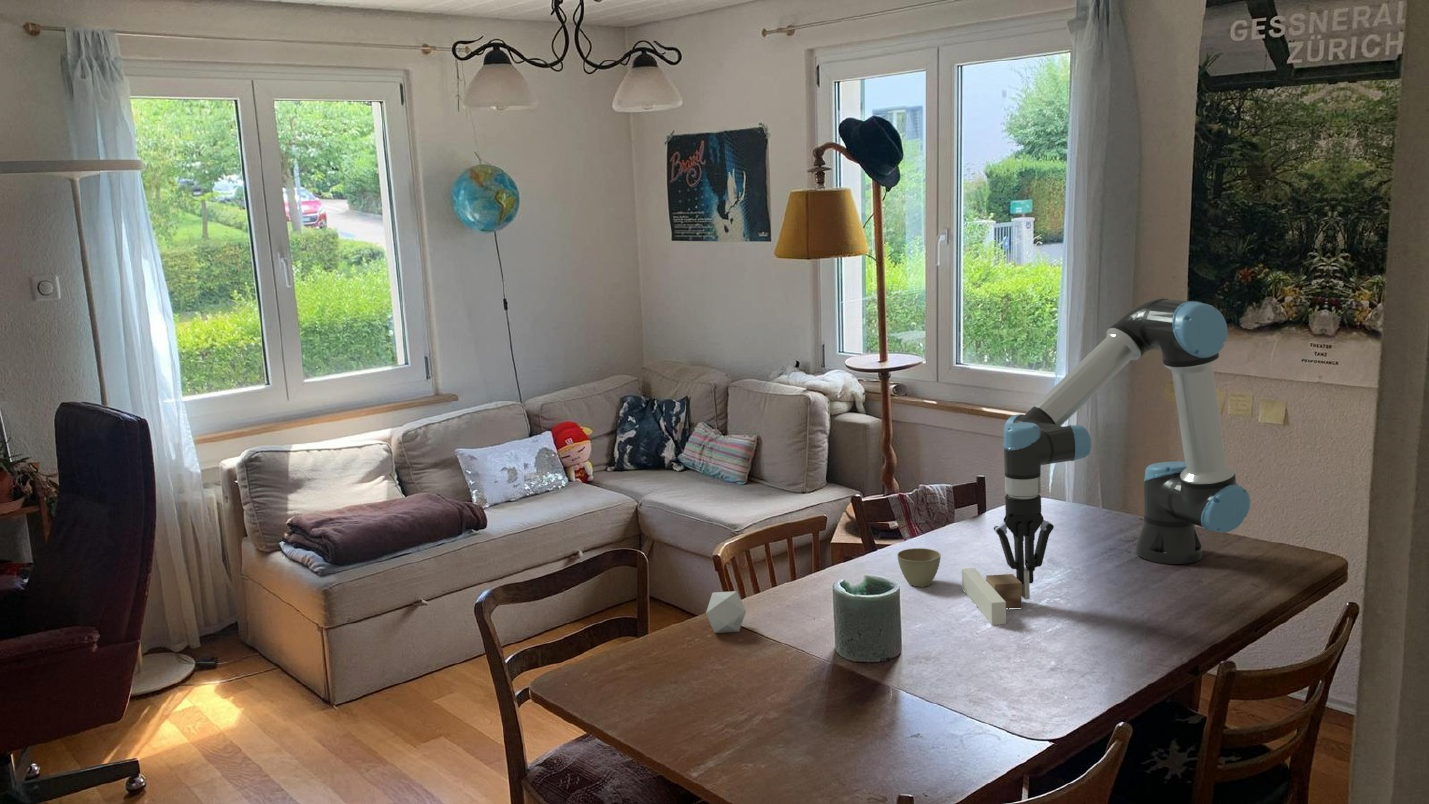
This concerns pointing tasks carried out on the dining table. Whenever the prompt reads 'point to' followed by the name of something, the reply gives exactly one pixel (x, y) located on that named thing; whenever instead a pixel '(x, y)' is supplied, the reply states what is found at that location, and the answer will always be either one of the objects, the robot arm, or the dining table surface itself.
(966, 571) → the board
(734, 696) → the dining table surface
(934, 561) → the flower pot
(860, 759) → the dining table surface
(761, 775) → the dining table surface
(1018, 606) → the block
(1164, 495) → the robot arm
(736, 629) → the die
